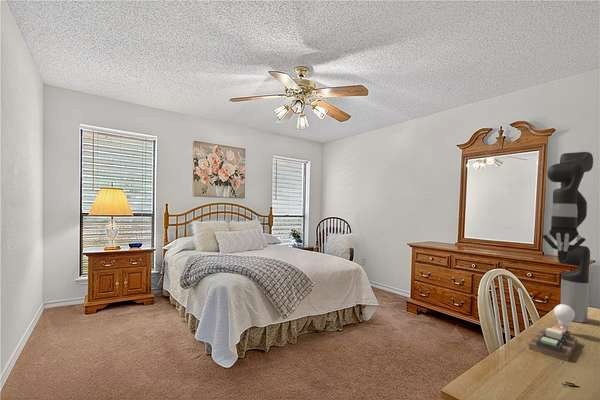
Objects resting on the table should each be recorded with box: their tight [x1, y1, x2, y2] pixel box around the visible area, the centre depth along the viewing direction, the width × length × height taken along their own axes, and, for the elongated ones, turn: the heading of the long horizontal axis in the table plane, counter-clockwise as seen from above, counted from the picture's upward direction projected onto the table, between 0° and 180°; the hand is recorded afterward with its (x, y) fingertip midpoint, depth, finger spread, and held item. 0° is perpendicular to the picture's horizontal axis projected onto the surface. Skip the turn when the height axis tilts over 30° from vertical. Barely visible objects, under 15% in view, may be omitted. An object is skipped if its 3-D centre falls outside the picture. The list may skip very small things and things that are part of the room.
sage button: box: [541, 337, 558, 347], centre depth 102 cm, size 4×4×2 cm
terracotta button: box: [550, 325, 566, 335], centre depth 113 cm, size 4×4×2 cm
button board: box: [528, 326, 578, 362], centre depth 107 cm, size 22×10×4 cm, turn 131°
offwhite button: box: [545, 326, 563, 340], centre depth 107 cm, size 4×4×2 cm
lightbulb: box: [553, 304, 575, 331], centre depth 121 cm, size 6×6×11 cm
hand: (562, 260), depth 117 cm, fingers closed
